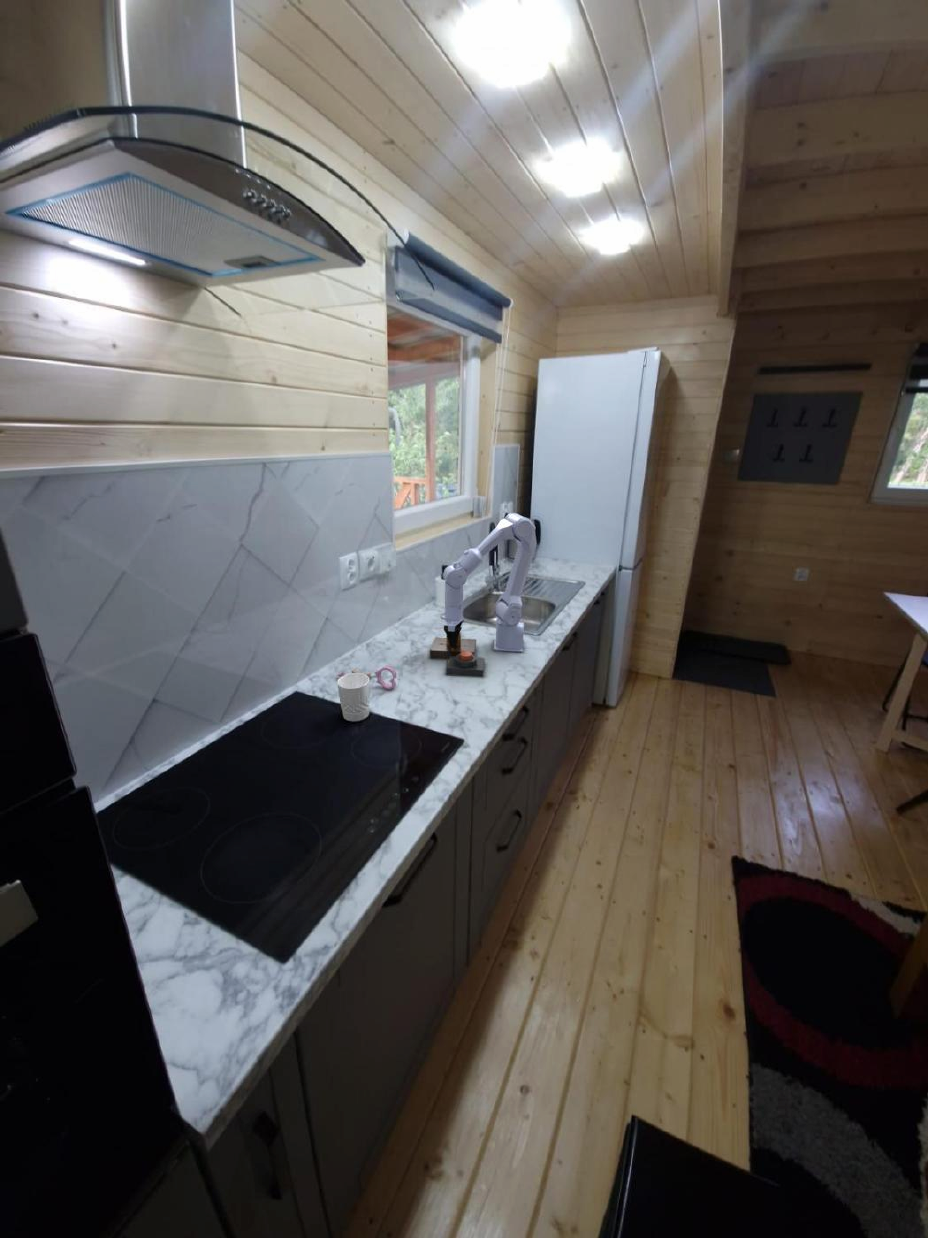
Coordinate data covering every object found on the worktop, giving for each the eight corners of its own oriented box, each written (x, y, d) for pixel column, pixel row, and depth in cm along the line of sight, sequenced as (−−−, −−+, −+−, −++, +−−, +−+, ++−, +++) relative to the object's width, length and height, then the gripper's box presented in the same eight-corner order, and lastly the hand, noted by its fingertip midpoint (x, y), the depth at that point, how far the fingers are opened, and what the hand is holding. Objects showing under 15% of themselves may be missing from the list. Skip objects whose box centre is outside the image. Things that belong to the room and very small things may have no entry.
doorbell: (484, 664, 155) (484, 652, 153) (483, 676, 147) (483, 664, 146) (449, 662, 156) (449, 651, 154) (446, 674, 148) (446, 662, 147)
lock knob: (461, 643, 161) (461, 631, 160) (460, 645, 160) (460, 633, 158) (447, 643, 162) (447, 631, 160) (446, 645, 160) (446, 633, 159)
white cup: (377, 714, 128) (375, 680, 124) (352, 727, 123) (349, 691, 119) (359, 703, 133) (357, 670, 129) (334, 714, 127) (330, 680, 124)
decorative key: (340, 685, 147) (399, 687, 140) (337, 687, 146) (397, 689, 139) (334, 664, 145) (394, 666, 137) (332, 666, 144) (392, 668, 136)
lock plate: (476, 647, 166) (476, 638, 165) (473, 660, 157) (474, 651, 156) (434, 645, 167) (434, 636, 166) (430, 658, 158) (430, 649, 157)
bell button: (472, 656, 152) (472, 651, 151) (471, 661, 148) (471, 656, 148) (460, 655, 152) (460, 650, 151) (459, 661, 149) (459, 655, 148)
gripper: (444, 595, 163) (444, 633, 168) (438, 611, 149) (438, 652, 154) (465, 596, 162) (465, 634, 167) (461, 612, 149) (460, 653, 154)
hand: (453, 643), depth 161 cm, fingers open, 4 cm apart
